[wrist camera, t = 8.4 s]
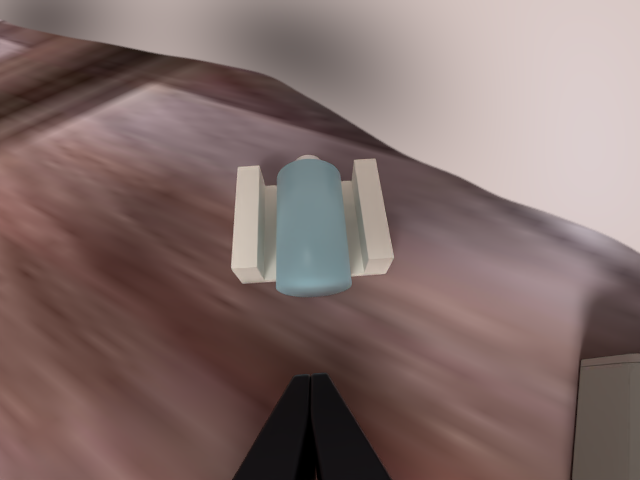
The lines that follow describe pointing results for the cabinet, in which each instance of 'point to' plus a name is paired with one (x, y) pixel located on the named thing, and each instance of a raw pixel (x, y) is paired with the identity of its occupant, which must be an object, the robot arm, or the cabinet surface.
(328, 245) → the bottle
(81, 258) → the cabinet surface
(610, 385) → the digital clock
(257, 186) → the u rest
